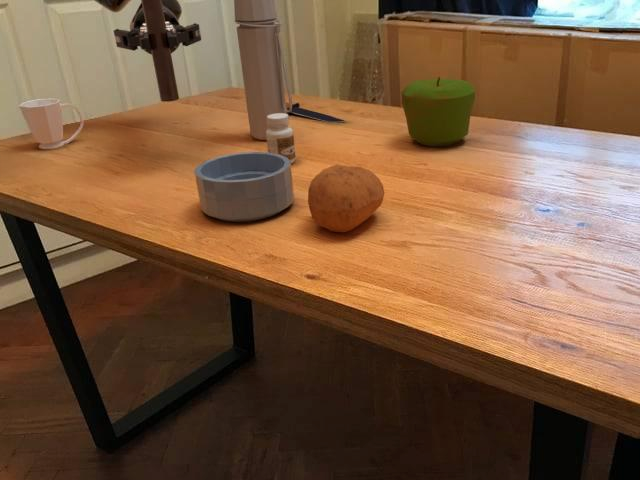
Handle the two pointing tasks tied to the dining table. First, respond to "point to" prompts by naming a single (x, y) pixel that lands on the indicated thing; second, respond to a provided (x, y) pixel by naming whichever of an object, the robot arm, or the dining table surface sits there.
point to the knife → (311, 114)
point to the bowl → (245, 186)
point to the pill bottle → (280, 136)
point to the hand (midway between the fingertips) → (159, 43)
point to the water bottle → (261, 62)
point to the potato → (344, 197)
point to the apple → (438, 110)
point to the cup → (47, 121)
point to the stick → (160, 50)
